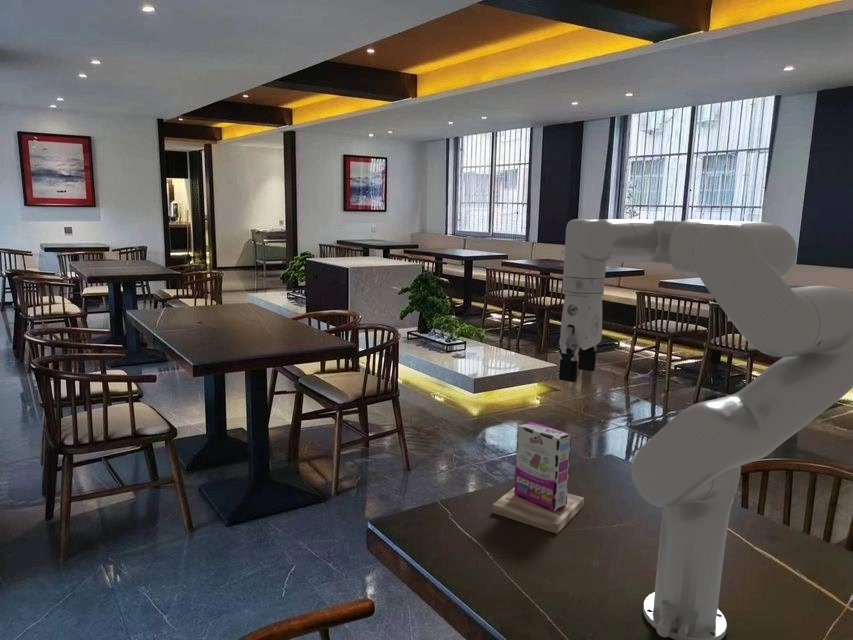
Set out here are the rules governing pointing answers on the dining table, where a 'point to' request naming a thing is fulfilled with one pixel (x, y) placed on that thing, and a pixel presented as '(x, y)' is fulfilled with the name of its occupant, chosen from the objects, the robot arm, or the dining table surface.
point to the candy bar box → (542, 465)
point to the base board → (537, 511)
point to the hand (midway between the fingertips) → (577, 375)
